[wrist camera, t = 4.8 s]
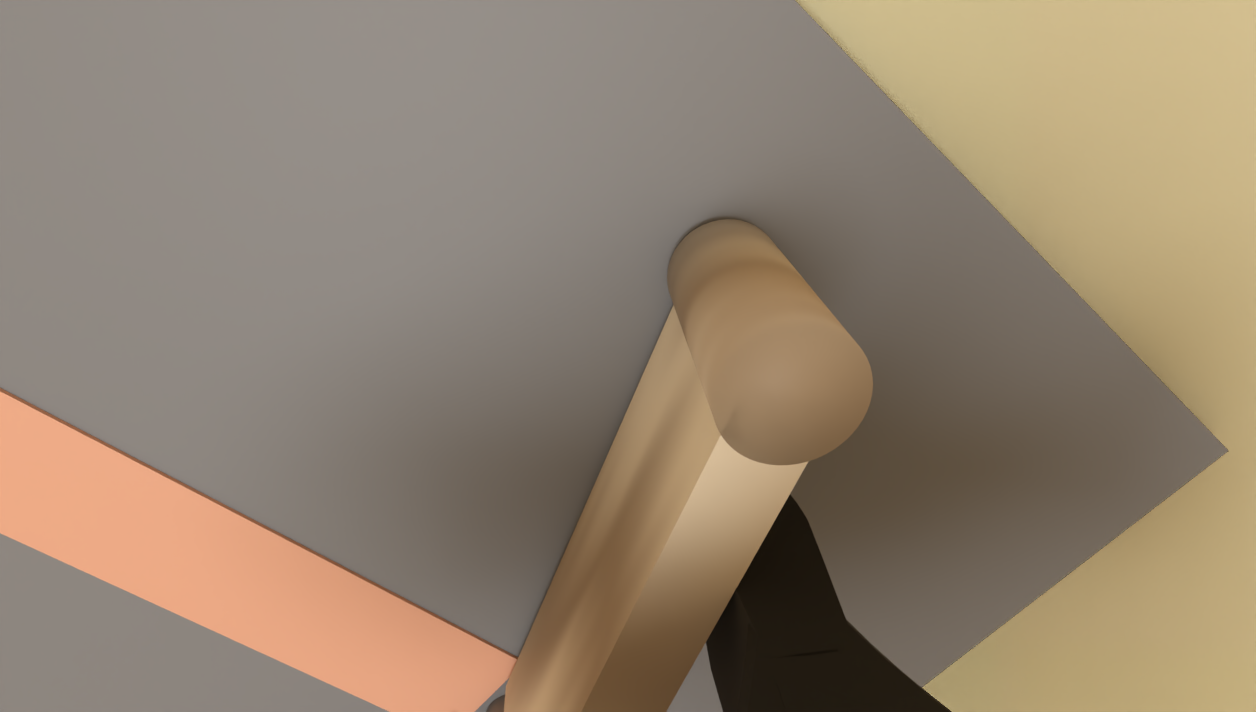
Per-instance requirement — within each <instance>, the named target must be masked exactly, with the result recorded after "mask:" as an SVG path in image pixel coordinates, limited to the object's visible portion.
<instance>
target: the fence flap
mask: <svg viewBox="0 0 1256 712" xmlns="http://www.w3.org/2000/svg"><path fill="white" fill-rule="evenodd" d="M667 285H668V290H669V293H670V296H671V299H672V302H673V307H672V309H671V311H670V314H669V316H668V318H667V321H666V323H665V325H664V327H663V330H662V332H661V334H660V336H659V339H658V341H657V343H656V346H655V348H654V350H653V352H652V355H651V357H650V359H649V362H648V364H647V366H646V368H645V371H644V373H643V375H642V377H641V380H640V382H639V384H638V387H637V389H636V391H635V393H634V396H633V398H632V400H631V402H630V405H629V407H628V409H627V412H626V414H625V416H624V418H623V421H622V423H621V425H620V427H619V430H618V432H617V434H616V437H615V439H614V441H613V443H612V446H611V448H610V450H609V452H608V455H607V457H606V459H605V462H604V464H603V466H602V468H601V471H600V473H599V475H598V478H597V480H596V482H595V484H594V487H593V489H592V491H591V493H590V496H589V498H588V500H587V503H586V505H585V507H584V509H583V512H582V514H581V516H580V518H579V521H578V523H577V525H576V528H575V530H574V532H573V534H572V537H571V539H570V541H569V543H568V546H567V548H566V550H565V553H564V555H563V557H562V559H561V562H560V564H559V566H558V569H557V571H556V573H555V575H554V578H553V580H552V582H551V584H550V587H549V589H548V591H547V594H546V596H545V598H544V600H543V603H542V605H541V607H540V609H539V612H538V614H537V616H536V619H535V621H534V623H533V625H532V628H531V630H530V632H529V634H528V637H527V639H526V641H525V644H524V646H523V648H522V650H521V653H520V655H519V657H518V659H517V662H516V664H515V666H514V669H513V671H512V673H511V675H510V678H509V680H508V682H507V685H506V691H505V704H504V712H666V711H667V710H668V708H669V706H670V704H671V703H672V701H673V699H674V697H675V696H676V694H677V692H678V690H679V689H680V687H681V685H682V683H683V681H684V680H685V678H686V676H687V674H688V673H689V671H690V669H691V667H692V666H693V664H694V662H695V660H696V659H697V657H698V655H699V653H700V652H701V650H702V648H703V646H704V644H705V643H706V641H707V639H708V637H709V636H710V634H711V632H712V630H713V629H714V627H715V625H716V623H717V622H718V620H719V618H720V616H721V615H722V613H723V611H724V609H725V608H726V606H727V604H728V602H729V600H730V599H731V597H732V595H733V593H734V592H735V589H736V588H737V586H738V585H739V583H740V581H741V579H742V578H743V576H744V574H745V572H746V571H747V569H748V567H749V565H750V564H751V562H752V560H753V558H754V556H755V555H756V553H757V551H758V549H759V548H760V546H761V544H762V542H763V541H764V539H765V537H766V535H767V534H768V532H769V530H770V528H771V527H772V525H773V523H774V521H775V520H776V518H777V516H778V514H779V512H780V511H781V509H782V507H783V505H784V504H785V502H786V500H787V498H788V497H789V495H790V493H791V491H792V490H793V488H794V486H795V484H796V483H797V481H798V479H799V477H800V476H801V474H802V472H803V470H804V468H805V467H806V465H807V463H808V461H811V460H814V459H817V458H819V457H821V456H823V455H825V454H827V453H829V452H831V451H832V450H834V449H835V448H837V447H838V446H839V445H841V444H842V443H843V442H844V441H846V440H847V439H848V438H849V437H850V436H851V435H852V434H853V432H854V431H855V430H856V429H857V428H858V426H859V425H860V423H861V422H862V420H863V418H864V416H865V414H866V412H867V410H868V407H869V405H870V402H871V397H872V391H873V377H872V371H871V367H870V364H869V361H868V359H867V357H866V355H865V354H864V352H863V350H862V349H861V348H860V346H859V345H858V344H857V343H856V342H855V340H854V339H853V338H852V337H851V335H850V334H849V333H848V332H847V331H846V329H845V328H844V327H843V326H842V325H841V323H840V322H839V321H838V320H837V319H836V317H835V316H834V315H833V314H832V313H831V311H830V310H829V309H828V308H827V306H826V305H825V304H824V303H823V302H822V300H821V299H820V298H819V297H818V296H817V294H816V293H815V292H814V291H813V290H812V288H811V287H810V286H809V285H808V284H807V282H806V281H805V280H804V279H803V277H802V276H801V275H800V274H799V273H798V271H797V270H796V269H795V268H794V267H793V265H792V264H791V263H790V262H789V261H788V259H787V258H786V257H785V256H784V255H783V253H782V252H781V251H780V250H779V249H778V247H777V246H776V245H775V244H774V242H773V241H772V240H771V239H770V238H769V237H768V235H767V234H766V233H764V232H763V231H762V230H761V229H759V228H758V227H756V226H755V225H752V224H750V223H748V222H744V221H741V220H734V219H724V220H717V221H712V222H709V223H707V224H704V225H702V226H700V227H698V228H696V229H695V230H693V231H692V232H690V233H689V234H688V235H687V236H686V237H685V238H684V239H683V240H682V241H681V242H680V243H679V245H678V246H677V248H676V249H675V251H674V253H673V255H672V257H671V260H670V262H669V266H668V272H667Z"/></svg>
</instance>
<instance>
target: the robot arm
mask: <svg viewBox="0 0 1256 712" xmlns="http://www.w3.org/2000/svg"><path fill="white" fill-rule="evenodd" d="M706 645H707V651H708V656H709V662H710V667H711V672H712V675H713V679H714V682H715V686H716V689H717V693H718V696H719V700H720V703H721V706H722V710H723V712H951V711H950V710H949V709H948V708H946V707H945V706H944V705H942V704H941V703H940V702H939V701H937V700H936V699H935V698H934V697H932V696H931V695H930V694H929V693H927V692H926V691H925V690H924V689H923V688H921V687H920V686H919V685H918V684H917V683H915V682H914V681H913V680H912V679H911V678H910V677H908V676H907V675H906V674H905V673H904V672H902V671H901V670H900V669H899V668H898V667H897V666H895V665H894V664H893V663H892V662H891V661H890V660H889V659H888V658H886V657H885V656H884V655H883V654H882V653H881V652H880V651H879V650H878V649H877V648H876V647H874V646H873V645H872V644H871V643H870V642H869V641H868V640H867V639H866V638H865V637H864V636H863V635H862V634H861V633H860V632H859V631H858V630H857V629H856V628H855V627H854V626H853V625H852V624H850V623H849V622H848V621H847V620H846V618H845V615H844V613H843V610H842V607H841V605H840V602H839V599H838V597H837V594H836V592H835V589H834V586H833V584H832V581H831V578H830V576H829V573H828V571H827V568H826V565H825V563H824V560H823V557H822V555H821V552H820V550H819V547H818V545H817V542H816V539H815V537H814V534H813V532H812V529H811V527H810V524H809V522H808V520H807V518H806V516H805V515H804V513H803V511H802V510H801V508H800V507H799V505H798V504H797V502H796V501H795V500H794V498H793V497H792V496H791V494H790V495H789V497H788V498H787V500H786V502H785V504H784V505H783V507H782V509H781V511H780V512H779V514H778V516H777V518H776V520H775V521H774V523H773V525H772V527H771V528H770V530H769V532H768V534H767V535H766V537H765V539H764V541H763V542H762V544H761V546H760V548H759V549H758V551H757V553H756V555H755V556H754V558H753V560H752V562H751V564H750V565H749V567H748V569H747V571H746V572H745V574H744V576H743V578H742V579H741V581H740V583H739V585H738V586H737V588H736V589H735V592H734V593H733V595H732V597H731V599H730V600H729V602H728V604H727V606H726V608H725V609H724V611H723V613H722V615H721V616H720V618H719V620H718V622H717V623H716V625H715V627H714V629H713V630H712V632H711V634H710V636H709V637H708V639H707V641H706Z"/></svg>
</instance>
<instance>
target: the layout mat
mask: <svg viewBox="0 0 1256 712" xmlns="http://www.w3.org/2000/svg"><path fill="white" fill-rule="evenodd" d="M724 219H734V220H741V221H744V222H748V223H750V224H752V225H755V226H756V227H758V228H759V229H761V230H762V231H763V232H764V233H766V234H767V235H768V237H769V238H770V239H771V240H772V241H773V242H774V244H775V245H776V246H777V247H778V249H779V250H780V251H781V252H782V253H783V255H784V256H785V257H786V258H787V259H788V261H789V262H790V263H791V264H792V265H793V267H794V268H795V269H796V270H797V271H798V273H799V274H800V275H801V276H802V277H803V279H804V280H805V281H806V282H807V284H808V285H809V286H810V287H811V288H812V290H813V291H814V292H815V293H816V294H817V296H818V297H819V298H820V299H821V300H822V302H823V303H824V304H825V305H826V306H827V308H828V309H829V310H830V311H831V313H832V314H833V315H834V316H835V317H836V319H837V320H838V321H839V322H840V323H841V325H842V326H843V327H844V328H845V329H846V331H847V332H848V333H849V334H850V335H851V337H852V338H853V339H854V340H855V342H856V343H857V344H858V345H859V346H860V348H861V349H862V350H863V352H864V354H865V355H866V357H867V359H868V361H869V364H870V367H871V371H872V377H873V391H872V397H871V402H870V405H869V407H868V410H867V412H866V414H865V416H864V418H863V420H862V422H861V423H860V425H859V426H858V428H857V429H856V430H855V431H854V432H853V434H852V435H851V436H850V437H849V438H848V439H847V440H846V441H844V442H843V443H842V444H841V445H839V446H838V447H837V448H835V449H834V450H832V451H831V452H829V453H827V454H825V455H823V456H821V457H819V458H817V459H814V460H811V461H808V463H807V465H806V467H805V468H804V470H803V472H802V474H801V476H800V477H799V479H798V481H797V483H796V484H795V486H794V488H793V490H792V491H791V493H790V494H791V496H792V497H793V498H794V500H795V501H796V502H797V504H798V505H799V507H800V508H801V510H802V511H803V513H804V515H805V516H806V518H807V520H808V522H809V524H810V527H811V529H812V532H813V534H814V537H815V539H816V542H817V545H818V547H819V550H820V552H821V555H822V557H823V560H824V563H825V565H826V568H827V571H828V573H829V576H830V578H831V581H832V584H833V586H834V589H835V592H836V594H837V597H838V599H839V602H840V605H841V607H842V610H843V613H844V615H845V618H846V620H847V621H848V622H849V623H850V624H852V625H853V626H854V627H855V628H856V629H857V630H858V631H859V632H860V633H861V634H862V635H863V636H864V637H865V638H866V639H867V640H868V641H869V642H870V643H871V644H872V645H873V646H874V647H876V648H877V649H878V650H879V651H880V652H881V653H882V654H883V655H884V656H885V657H886V658H888V659H889V660H890V661H891V662H892V663H893V664H894V665H895V666H897V667H898V668H899V669H900V670H901V671H902V672H904V673H905V674H906V675H907V676H908V677H910V678H911V679H912V680H913V681H914V682H915V683H917V684H918V685H919V686H920V687H921V688H922V687H923V686H924V685H925V684H927V683H928V682H929V681H931V680H932V679H933V678H935V677H936V676H937V675H938V674H940V673H941V672H942V671H944V670H945V669H946V668H947V667H949V666H950V665H951V664H953V663H954V662H955V661H957V660H958V659H959V658H960V657H962V656H963V655H964V654H966V653H967V652H968V651H970V650H971V649H972V648H973V647H975V646H976V645H977V644H979V643H980V642H981V641H983V640H984V639H985V638H986V637H988V636H989V635H990V634H992V633H993V632H994V631H995V630H997V629H998V628H999V627H1001V626H1002V625H1003V624H1005V623H1006V622H1007V621H1008V620H1010V619H1011V618H1012V617H1014V616H1015V615H1016V614H1018V613H1019V612H1020V611H1021V610H1023V609H1024V608H1025V607H1027V606H1028V605H1029V604H1031V603H1032V602H1033V601H1034V600H1036V599H1037V598H1038V597H1040V596H1041V595H1042V594H1043V593H1045V592H1046V591H1047V590H1049V589H1050V588H1051V587H1053V586H1054V585H1055V584H1056V583H1058V582H1059V581H1060V580H1062V579H1063V578H1064V577H1066V576H1067V575H1068V574H1069V573H1071V572H1072V571H1073V570H1075V569H1076V568H1077V567H1079V566H1080V565H1081V564H1082V563H1084V562H1085V561H1086V560H1088V559H1089V558H1090V557H1091V556H1093V555H1094V554H1095V553H1097V552H1098V551H1099V550H1101V549H1102V548H1103V547H1104V546H1106V545H1107V544H1108V543H1110V542H1111V541H1112V540H1114V539H1115V538H1116V537H1117V536H1119V535H1120V534H1121V533H1123V532H1124V531H1125V530H1126V529H1128V528H1129V527H1130V526H1132V525H1133V524H1134V523H1136V522H1137V521H1138V520H1139V519H1141V518H1142V517H1143V516H1145V515H1146V514H1147V513H1149V512H1150V511H1151V510H1152V509H1154V508H1155V507H1156V506H1158V505H1159V504H1160V503H1162V502H1163V501H1164V500H1165V499H1167V498H1168V497H1169V496H1171V495H1172V494H1173V493H1174V492H1176V491H1177V490H1178V489H1180V488H1181V487H1182V486H1184V485H1185V484H1186V483H1187V482H1189V481H1190V480H1191V479H1193V478H1194V477H1195V476H1197V475H1198V474H1199V473H1200V472H1202V471H1203V470H1204V469H1206V468H1207V467H1208V466H1210V465H1211V464H1212V463H1213V462H1215V461H1216V460H1217V459H1219V458H1220V457H1221V456H1222V455H1224V454H1225V453H1226V452H1228V450H1227V449H1226V448H1225V446H1224V445H1223V444H1222V443H1221V442H1220V441H1219V440H1218V439H1217V438H1216V437H1215V436H1214V435H1213V434H1212V433H1211V432H1210V431H1209V430H1208V429H1207V428H1206V427H1205V426H1204V425H1203V424H1202V423H1201V422H1200V421H1199V419H1198V418H1197V417H1196V416H1195V415H1194V414H1193V413H1192V412H1191V411H1190V410H1189V409H1188V408H1187V407H1186V406H1185V405H1184V404H1183V403H1182V402H1181V401H1180V400H1179V399H1178V398H1177V397H1176V396H1175V395H1174V394H1173V392H1172V391H1171V390H1170V389H1169V388H1168V387H1167V386H1166V385H1165V384H1164V383H1163V382H1162V381H1161V380H1160V379H1159V378H1158V377H1157V376H1156V375H1155V374H1154V373H1153V372H1152V371H1151V370H1150V369H1149V368H1148V367H1147V365H1146V364H1145V363H1144V362H1143V361H1142V360H1141V359H1140V358H1139V357H1138V356H1137V355H1136V354H1135V353H1134V352H1133V351H1132V350H1131V349H1130V348H1129V347H1128V346H1127V345H1126V344H1125V343H1124V342H1123V341H1122V340H1121V338H1120V337H1119V336H1118V335H1117V334H1116V333H1115V332H1114V331H1113V330H1112V329H1111V328H1110V327H1109V326H1108V325H1107V324H1106V323H1105V322H1104V321H1103V320H1102V319H1101V318H1100V317H1099V316H1098V315H1097V314H1096V313H1095V311H1094V310H1093V309H1092V308H1091V307H1090V306H1089V305H1088V304H1087V303H1086V302H1085V301H1084V300H1083V299H1082V298H1081V297H1080V296H1079V295H1078V294H1077V293H1076V292H1075V291H1074V290H1073V289H1072V288H1071V287H1070V286H1069V284H1068V283H1067V282H1066V281H1065V280H1064V279H1063V278H1062V277H1061V276H1060V275H1059V274H1058V273H1057V272H1056V271H1055V270H1054V269H1053V268H1052V267H1051V266H1050V265H1049V264H1048V263H1047V262H1046V261H1045V260H1044V259H1043V258H1042V256H1041V255H1040V254H1039V253H1038V252H1037V251H1036V250H1035V249H1034V248H1033V247H1032V246H1031V245H1030V244H1029V243H1028V242H1027V241H1026V240H1025V239H1024V238H1023V237H1022V236H1021V235H1020V234H1019V233H1018V232H1017V231H1016V229H1015V228H1014V227H1013V226H1012V225H1011V224H1010V223H1009V222H1008V221H1007V220H1006V219H1005V218H1004V217H1003V216H1002V215H1001V214H1000V213H999V212H998V211H997V210H996V209H995V208H994V207H993V206H992V205H991V204H990V202H989V201H988V200H987V199H986V198H985V197H984V196H983V195H982V194H981V193H980V192H979V191H978V190H977V189H976V188H975V187H974V186H973V185H972V184H971V183H970V182H969V181H968V180H967V179H966V178H965V177H964V175H963V174H962V173H961V172H960V171H959V170H958V169H957V168H956V167H955V166H954V165H953V164H952V163H951V162H950V161H949V160H948V159H947V158H946V157H945V156H944V155H943V154H942V153H941V152H940V151H939V150H938V148H937V147H936V146H935V145H934V144H933V143H932V142H931V141H930V140H929V139H928V138H927V137H926V136H925V135H924V134H923V133H922V132H921V131H920V130H919V129H918V128H917V127H916V126H915V125H914V124H913V123H912V121H911V120H910V119H909V118H908V117H907V116H906V115H905V114H904V113H903V112H902V111H901V110H900V109H899V108H898V107H897V106H896V105H895V104H894V103H893V102H892V101H891V100H890V99H889V98H888V97H887V96H886V94H885V93H884V92H883V91H882V90H881V89H880V88H879V87H878V86H877V85H876V84H875V83H874V82H873V81H872V80H871V79H870V78H869V77H868V76H867V75H866V74H865V73H864V72H863V71H862V70H861V69H860V67H859V66H858V65H857V64H856V63H855V62H854V61H853V60H852V59H851V58H850V57H849V56H848V55H847V54H846V53H845V52H844V51H843V50H842V49H841V48H840V47H839V46H838V45H837V44H836V43H835V42H834V40H833V39H832V38H831V37H830V36H829V35H828V34H827V33H826V32H825V31H824V30H823V29H822V28H821V27H820V26H819V25H818V24H817V23H816V22H815V21H814V20H813V19H812V18H811V17H810V16H809V15H808V13H807V12H806V11H805V10H804V9H803V8H802V7H801V6H800V5H799V4H798V3H797V2H796V1H795V0H0V712H486V710H487V708H488V706H489V705H490V704H491V702H493V701H494V700H495V699H497V698H498V697H500V696H503V695H505V691H506V685H507V682H508V680H509V678H510V675H511V673H512V671H513V669H514V666H515V664H516V662H517V659H518V657H519V655H520V653H521V650H522V648H523V646H524V644H525V641H526V639H527V637H528V634H529V632H530V630H531V628H532V625H533V623H534V621H535V619H536V616H537V614H538V612H539V609H540V607H541V605H542V603H543V600H544V598H545V596H546V594H547V591H548V589H549V587H550V584H551V582H552V580H553V578H554V575H555V573H556V571H557V569H558V566H559V564H560V562H561V559H562V557H563V555H564V553H565V550H566V548H567V546H568V543H569V541H570V539H571V537H572V534H573V532H574V530H575V528H576V525H577V523H578V521H579V518H580V516H581V514H582V512H583V509H584V507H585V505H586V503H587V500H588V498H589V496H590V493H591V491H592V489H593V487H594V484H595V482H596V480H597V478H598V475H599V473H600V471H601V468H602V466H603V464H604V462H605V459H606V457H607V455H608V452H609V450H610V448H611V446H612V443H613V441H614V439H615V437H616V434H617V432H618V430H619V427H620V425H621V423H622V421H623V418H624V416H625V414H626V412H627V409H628V407H629V405H630V402H631V400H632V398H633V396H634V393H635V391H636V389H637V387H638V384H639V382H640V380H641V377H642V375H643V373H644V371H645V368H646V366H647V364H648V362H649V359H650V357H651V355H652V352H653V350H654V348H655V346H656V343H657V341H658V339H659V336H660V334H661V332H662V330H663V327H664V325H665V323H666V321H667V318H668V316H669V314H670V311H671V309H672V307H673V302H672V299H671V296H670V293H669V290H668V285H667V272H668V266H669V262H670V260H671V257H672V255H673V253H674V251H675V249H676V248H677V246H678V245H679V243H680V242H681V241H682V240H683V239H684V238H685V237H686V236H687V235H688V234H689V233H690V232H692V231H693V230H695V229H696V228H698V227H700V226H702V225H704V224H707V223H709V222H712V221H717V220H724ZM666 712H723V710H722V706H721V703H720V700H719V696H718V693H717V689H716V686H715V682H714V679H713V675H712V672H711V667H710V662H709V656H708V651H707V645H706V643H705V644H704V646H703V648H702V650H701V652H700V653H699V655H698V657H697V659H696V660H695V662H694V664H693V666H692V667H691V669H690V671H689V673H688V674H687V676H686V678H685V680H684V681H683V683H682V685H681V687H680V689H679V690H678V692H677V694H676V696H675V697H674V699H673V701H672V703H671V704H670V706H669V708H668V710H667V711H666Z"/></svg>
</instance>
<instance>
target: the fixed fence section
mask: <svg viewBox="0 0 1256 712" xmlns="http://www.w3.org/2000/svg"><path fill="white" fill-rule="evenodd" d="M504 704H505V695H503V696H500V697H498V698H497V699H495V700H494V701H493V702H491V704H490V705H489V706H488V708H487V710H486V712H504Z"/></svg>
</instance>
